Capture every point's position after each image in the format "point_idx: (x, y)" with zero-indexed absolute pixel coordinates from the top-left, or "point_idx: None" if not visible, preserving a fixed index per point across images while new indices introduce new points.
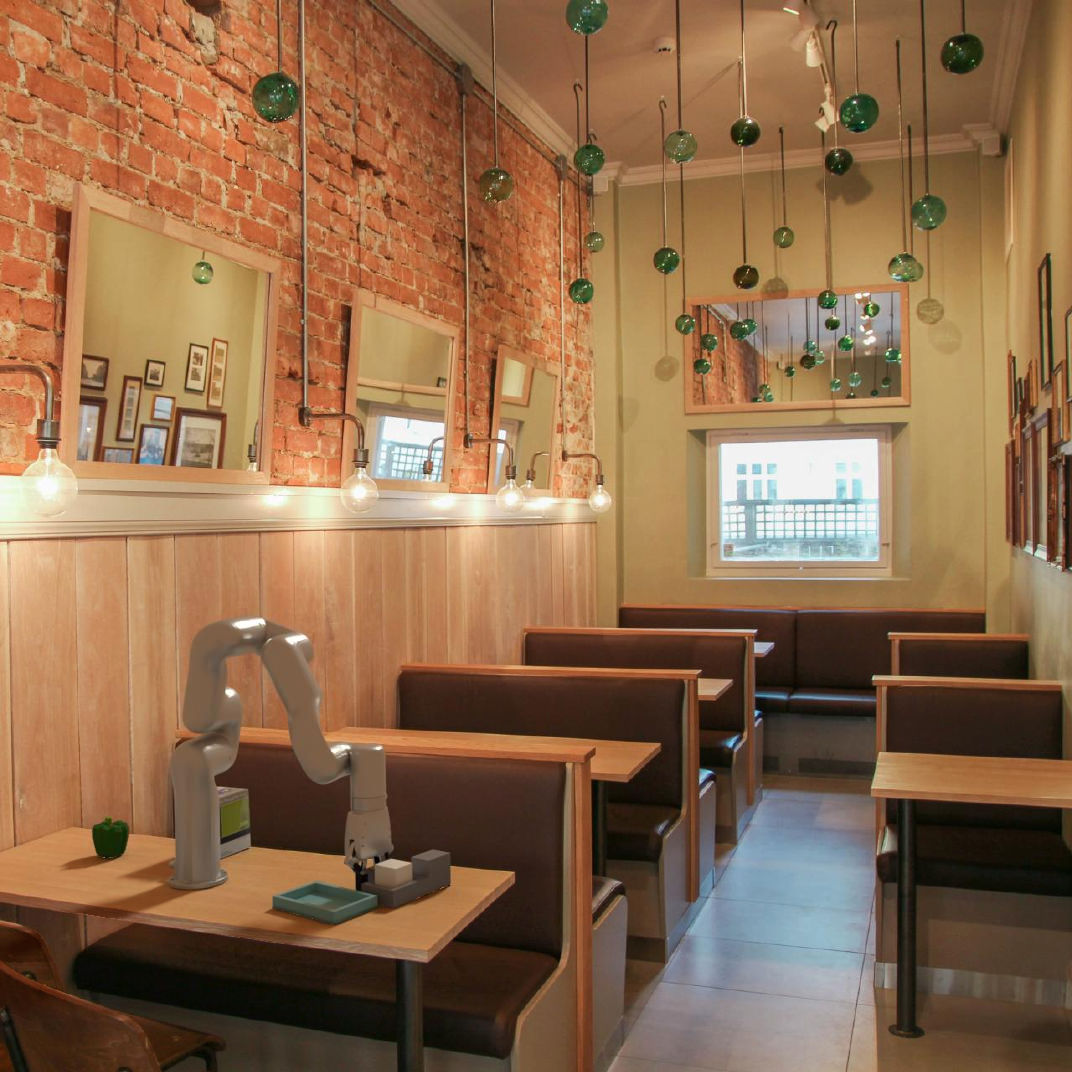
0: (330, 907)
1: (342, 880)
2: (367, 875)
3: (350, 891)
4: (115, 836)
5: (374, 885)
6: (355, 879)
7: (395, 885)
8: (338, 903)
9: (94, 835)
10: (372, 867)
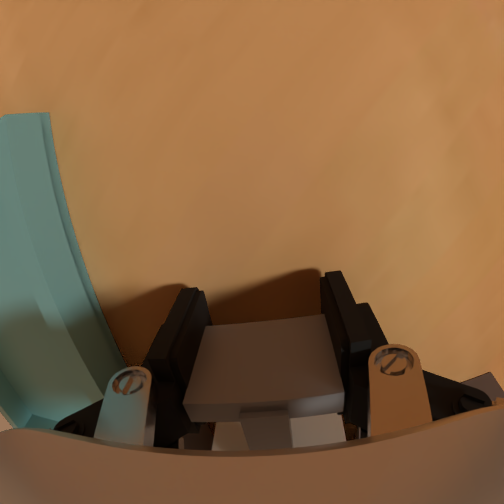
0: (28, 357)
1: (284, 7)
2: (198, 424)
3: (86, 393)
4: None
5: None
6: (164, 323)
7: None
8: (55, 353)
9: None
10: (271, 433)
